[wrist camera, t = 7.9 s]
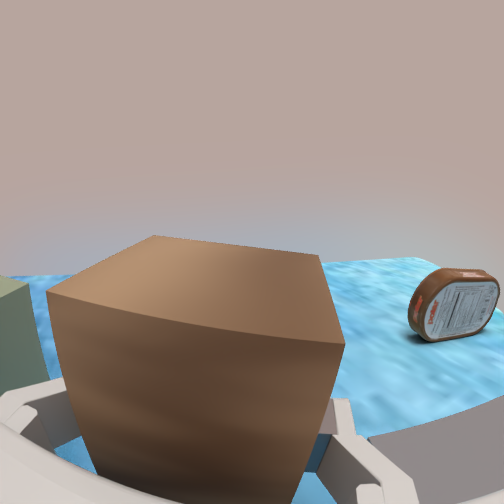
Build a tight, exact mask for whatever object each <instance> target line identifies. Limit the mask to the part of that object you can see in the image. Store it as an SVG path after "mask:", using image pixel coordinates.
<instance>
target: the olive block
mask: <svg viewBox="0 0 504 504" xmlns="http://www.w3.org/2000/svg"><path fill="white" fill-rule="evenodd" d="M46 381H50V378H49V375H48V371H47V368H46V364H45V361H44V357H43V353H42V349H41V345H40V341H39V337H38V332H37V328H36V323H35V318H34V313H33V307H32V302H31V296H30V289H29V283H25V282H22V281H18V280H15V279H11V278H8V277H4V276H1V275H0V397H1V396H2V395H3V394H4V393H5V392H7V391H11V390H15V389H19V388H23V387H27V386H31V385H35V384H39V383H43V382H46Z"/></svg>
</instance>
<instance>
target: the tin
mask: <svg viewBox="0 0 504 504" xmlns="http://www.w3.org/2000/svg"><path fill="white" fill-rule="evenodd" d="M499 295H500V287H499V284H498V281H497V280H496V279H495V278H494V277H492V276H491V275H489V274H487V273H486V272H485V271H483V270H479V269H477V270H476V269H455V268H441V269H438V270H436V271H434V272H432V273H431V274H429V275H428V276H427V277H426V278H425V279H424V280H423V281H422V282H421V283H420V284H419V286H418V287H417V288H416V290H415V292H414V294H413V296H412V298H411V300H410V304H409V308H408V322H409V325H410V327H411V328H412V329H413V330H414V331H415V332H417V333H418V334H419V335H420V336H421V337H422V338H423V339H425V340H427V341H430V342H437V341H443V340H449V339H455V338H461V337H466V336H471V335H474V334H476V333H478V332H479V331H480V330H482V329H483V328H484V327H485V326H486V324H487V323H488V322H489V320H490V319H491V317H492V314H493V312H494V310H495V307H496V304H497V301H498V298H499Z"/></svg>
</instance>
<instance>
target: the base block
mask: <svg viewBox="0 0 504 504" xmlns="http://www.w3.org/2000/svg"><path fill="white" fill-rule="evenodd" d="M367 441H368V442H369V443H370V444H372V445H373V446H374V447H375V448H376V449H377V450H378V451H380V452H381V453H382V454H383V455H384V456H385V457H387V458H388V459H389V460H390V461H391V462H392V463H394V464H395V465H396V466H397V467H398V468H400V469H401V470H402V471H403V472H404V473H406V474H407V475H408V476H409V477H410V478H412V479H413V483H414V486H415V490H416V493H417V497H418V501H419V504H458V503H461V502H465V501H468V500H472V499H475V498H478V497H482V496H485V495H488V494H491V493H493V492H496V491H499V490H502V489H504V395H503V396H500V397H498V398H496V399H493V400H491V401H489V402H486V403H484V404H481V405H479V406H476V407H473V408H471V409H468V410H465V411H462V412H460V413H457V414H454V415H451V416H448V417H445V418H442V419H438V420H435V421H432V422H429V423H425V424H422V425H418V426H414V427H411V428H407V429H403V430H399V431H395V432H390V433H386V434H382V435H377V436H372V437H368V439H367Z"/></svg>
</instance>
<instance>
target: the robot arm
mask: <svg viewBox="0 0 504 504" xmlns="http://www.w3.org/2000/svg"><path fill="white" fill-rule="evenodd" d="M79 436H81V432H80V430H79V427H78V424H77V421H76V418H75V415H74V412H73V409H72V406H71V403H70V400H69V396H68V393H67V390H66V386H65V383H64V379H63V377H61V378H58V379H54V380H50V381H46V382H43V383H39V384H35V385H31V386H27V387H23V388H19V389H15V390H11V391H7V392H5V393H4V394H3V395H2V396H1V397H0V504H183V503H179V502H175V501H171V500H168V499H164V498H161V497H157V496H154V495H151V494H148V493H144V492H141V491H138V490H136V489H133V488H130V487H127V486H124V485H122V484H119V483H116V482H114V481H111V480H109V479H106V478H104V477H101V476H99V475H97V474H94V473H92V472H90V471H87V470H85V469H83V468H81V467H79V466H77V465H75V464H73V463H70V462H68V461H66V460H64V459H62V458H61V457H59V456H57V454H56V452H55V450H54V449H55V448H57V447H59V446H61V445H63V444H65V443H67V442H69V441H71V440H73V439H75V438H77V437H79ZM304 472H311V473H316V475H317V476H318V478H319V479H320V480H321V482H322V483H323V485H324V486H325V487H326V489H327V490H328V491H329V493H330V494H331V496H332V497H333V498H334V500H335V501H336V502H337V504H419V501H418V497H417V493H416V490H415V486H414V483H413V479H412V478H410V477H409V476H408V475H407V474H406V473H404V472H403V471H402V470H401V469H400V468H398V467H397V466H396V465H395V464H394V463H392V462H391V461H390V460H389V459H388V458H387V457H385V456H384V455H383V454H382V453H381V452H380V451H378V450H377V449H376V448H375V447H374V446H373V445H372V444H370V443H369V442H368V441H367V440H366V439H365V438H364V437H362V436H361V435H356V430H355V425H354V420H353V415H352V411H351V406H350V401H349V400H348V398H330V400H329V403H328V406H327V409H326V412H325V415H324V418H323V421H322V424H321V427H320V430H319V433H318V436H317V438H316V441H315V444H314V447H313V449H312V452H311V455H310V457H309V460H308V463H307V465H306V468H305V470H304ZM458 504H504V489H502V490H499V491H496V492H493V493H491V494H488V495H485V496H482V497H478V498H475V499H472V500H468V501H465V502H461V503H458Z"/></svg>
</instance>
